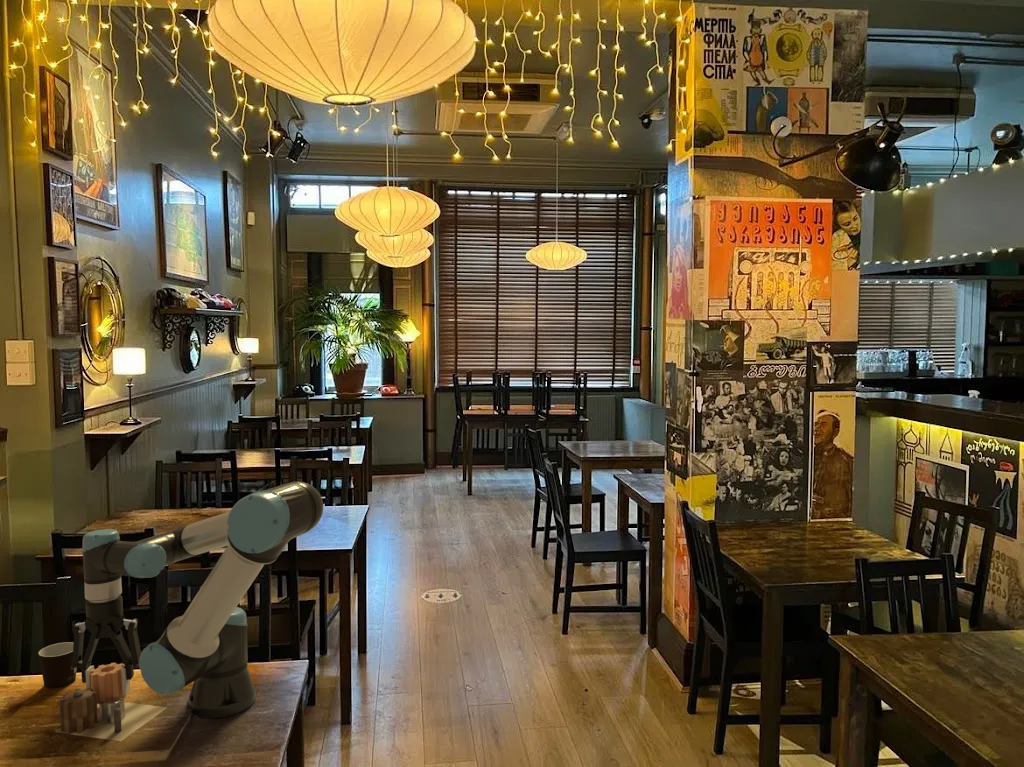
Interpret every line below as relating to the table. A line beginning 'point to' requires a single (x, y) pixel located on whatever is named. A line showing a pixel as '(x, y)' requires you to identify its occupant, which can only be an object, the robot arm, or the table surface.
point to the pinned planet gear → (78, 711)
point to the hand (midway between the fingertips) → (108, 693)
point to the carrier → (122, 722)
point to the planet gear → (107, 681)
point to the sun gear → (111, 709)
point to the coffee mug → (57, 665)
